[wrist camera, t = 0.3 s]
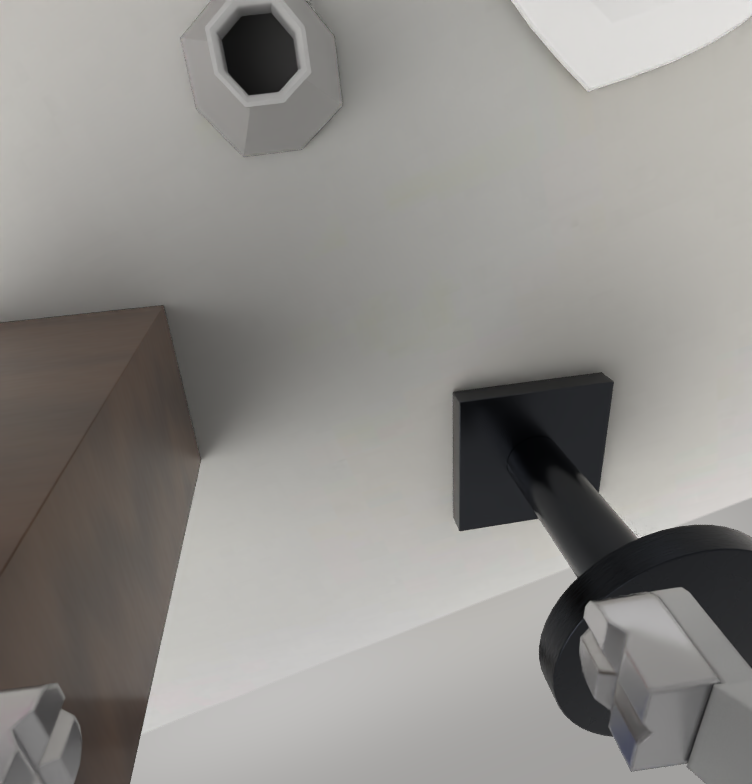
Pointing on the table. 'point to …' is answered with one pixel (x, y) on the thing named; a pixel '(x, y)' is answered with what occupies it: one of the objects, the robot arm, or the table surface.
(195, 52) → the flask
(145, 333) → the pedestal
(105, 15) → the table surface
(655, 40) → the plate
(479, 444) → the display stand
